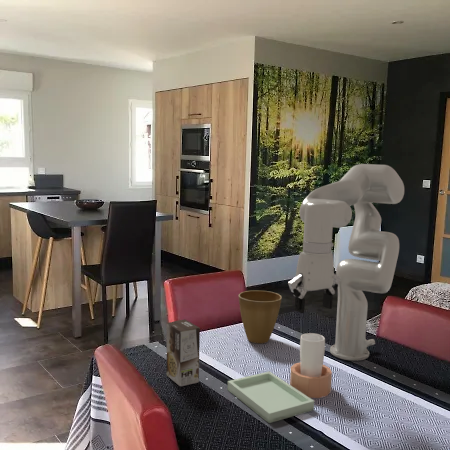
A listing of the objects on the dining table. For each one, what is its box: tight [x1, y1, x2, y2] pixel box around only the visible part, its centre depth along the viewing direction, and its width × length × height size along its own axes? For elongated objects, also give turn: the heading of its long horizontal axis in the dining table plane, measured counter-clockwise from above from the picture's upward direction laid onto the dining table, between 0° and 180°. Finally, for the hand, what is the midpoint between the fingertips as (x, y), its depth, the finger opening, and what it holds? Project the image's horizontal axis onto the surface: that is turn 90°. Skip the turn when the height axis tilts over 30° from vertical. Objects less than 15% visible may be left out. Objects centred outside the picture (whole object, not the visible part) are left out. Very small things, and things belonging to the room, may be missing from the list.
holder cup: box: [289, 362, 333, 399], centre depth 144 cm, size 11×11×6 cm
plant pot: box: [238, 290, 283, 344], centre depth 180 cm, size 15×15×16 cm
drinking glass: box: [299, 332, 326, 377], centre depth 143 cm, size 7×7×15 cm
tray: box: [227, 371, 315, 424], centre depth 137 cm, size 14×20×2 cm
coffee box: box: [166, 319, 201, 387], centre depth 147 cm, size 9×6×16 cm
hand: (313, 309), depth 141 cm, fingers open, 9 cm apart
